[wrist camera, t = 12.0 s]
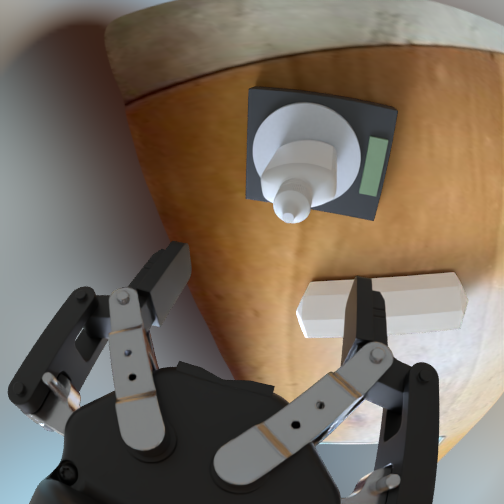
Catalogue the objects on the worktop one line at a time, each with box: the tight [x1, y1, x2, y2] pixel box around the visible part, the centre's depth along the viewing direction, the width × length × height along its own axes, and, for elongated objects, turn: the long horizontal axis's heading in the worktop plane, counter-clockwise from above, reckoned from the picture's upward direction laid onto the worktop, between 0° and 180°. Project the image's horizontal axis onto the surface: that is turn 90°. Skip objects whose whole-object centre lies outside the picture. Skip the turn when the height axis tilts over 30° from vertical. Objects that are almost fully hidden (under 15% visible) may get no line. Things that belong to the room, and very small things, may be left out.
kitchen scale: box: [246, 86, 398, 221], centre depth 28 cm, size 12×14×3 cm
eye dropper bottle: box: [261, 140, 337, 223], centre depth 23 cm, size 4×6×12 cm
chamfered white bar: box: [296, 272, 468, 338], centre depth 36 cm, size 7×7×24 cm
